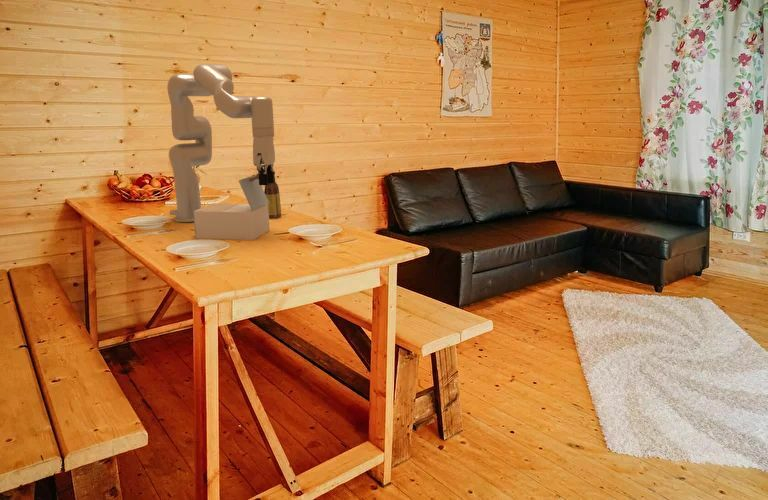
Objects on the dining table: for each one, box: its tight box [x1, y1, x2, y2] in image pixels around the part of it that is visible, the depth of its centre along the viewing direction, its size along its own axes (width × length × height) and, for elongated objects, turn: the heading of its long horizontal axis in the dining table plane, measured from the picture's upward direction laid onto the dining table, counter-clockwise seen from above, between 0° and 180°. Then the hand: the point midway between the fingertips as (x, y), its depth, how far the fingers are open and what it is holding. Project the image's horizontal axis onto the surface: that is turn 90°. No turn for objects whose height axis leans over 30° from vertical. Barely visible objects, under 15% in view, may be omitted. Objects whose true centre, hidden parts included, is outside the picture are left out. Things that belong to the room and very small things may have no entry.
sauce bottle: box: [263, 170, 282, 219], centre depth 241 cm, size 7×6×20 cm
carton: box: [193, 202, 271, 241], centre depth 212 cm, size 23×16×10 cm
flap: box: [238, 172, 269, 211], centre depth 207 cm, size 12×15×7 cm
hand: (266, 183), depth 206 cm, fingers closed on flap, 5 cm apart
